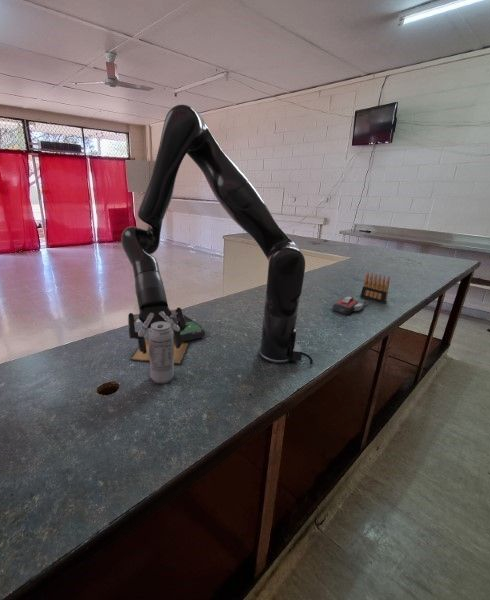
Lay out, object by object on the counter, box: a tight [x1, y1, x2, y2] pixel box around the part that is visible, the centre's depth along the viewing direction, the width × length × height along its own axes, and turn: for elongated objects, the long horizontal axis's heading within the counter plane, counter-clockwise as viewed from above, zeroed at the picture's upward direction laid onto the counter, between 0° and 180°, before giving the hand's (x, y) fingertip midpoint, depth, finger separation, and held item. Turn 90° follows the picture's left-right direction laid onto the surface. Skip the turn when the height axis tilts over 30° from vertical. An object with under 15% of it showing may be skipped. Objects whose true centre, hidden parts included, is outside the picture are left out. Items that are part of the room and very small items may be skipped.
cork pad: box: [131, 338, 189, 365], centre depth 94 cm, size 14×12×1 cm
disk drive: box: [170, 314, 206, 342], centre depth 107 cm, size 10×3×15 cm
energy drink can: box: [148, 321, 175, 384], centre depth 79 cm, size 6×6×15 cm
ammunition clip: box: [359, 271, 391, 304], centre depth 141 cm, size 11×2×12 cm, turn 42°
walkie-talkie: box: [332, 295, 369, 315], centre depth 132 cm, size 9×4×20 cm
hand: (162, 350), depth 78 cm, fingers open, 8 cm apart
